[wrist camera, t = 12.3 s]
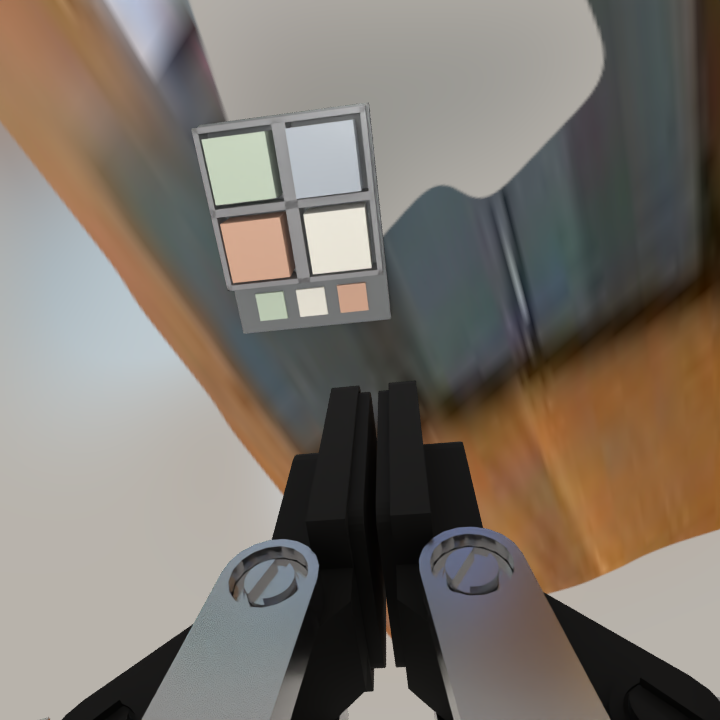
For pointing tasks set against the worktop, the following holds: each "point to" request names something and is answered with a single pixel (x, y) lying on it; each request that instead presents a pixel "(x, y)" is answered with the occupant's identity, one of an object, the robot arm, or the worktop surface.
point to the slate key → (324, 159)
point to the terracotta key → (258, 247)
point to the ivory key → (338, 237)
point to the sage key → (243, 167)
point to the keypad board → (304, 234)
